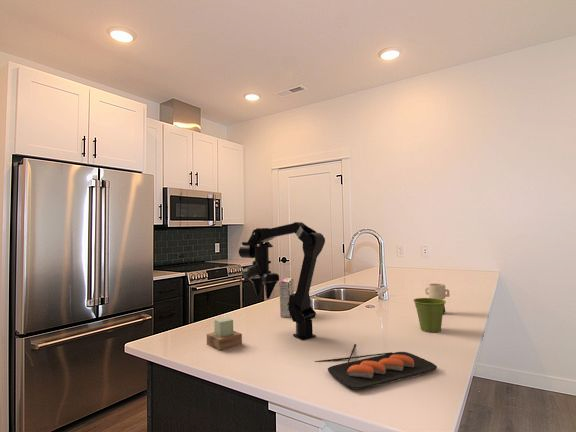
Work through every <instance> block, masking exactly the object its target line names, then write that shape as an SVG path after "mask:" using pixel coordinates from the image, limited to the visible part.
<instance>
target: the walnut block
mask: <svg viewBox="0 0 576 432" xmlns="http://www.w3.org/2000/svg"><path fill="white" fill-rule="evenodd" d="M206 345H207V346H208V347H211V348H213V349H215V350H217V351H224V350H227V349H231V348H234V347H238V346H241V345H243V334H242V333H241V332H239V331H235V330H233V334H232V335H227V336H222V337H219V336H218V335H216V334H215V331H214V332H209V333H206Z"/></svg>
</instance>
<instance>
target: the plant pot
mask: <svg viewBox="0 0 576 432" xmlns="http://www.w3.org/2000/svg"><path fill="white" fill-rule="evenodd" d="M412 301H413V302H414V304H415V305H414V306H415V308H416V312H417V318H418V321H419V326H420V327H419V328H420V330H421V331H424V332H427V333H428V332H431V333H432V332H433V333H438V332H441V330H442V326H443V316H444V312H443V309H444V306H445V304H446V303H447V301H446V300H445V299H442V300H441V299H435V298H429V297H417V298H413V300H412Z"/></svg>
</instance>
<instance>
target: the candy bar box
mask: <svg viewBox="0 0 576 432" xmlns="http://www.w3.org/2000/svg"><path fill="white" fill-rule="evenodd" d="M278 287H279V288H278V289H279V308H280V312H279V313H280V318H292V317H291V314H290V312H289V310H288V306H289V305H287V304H288V302H289V296H290V295H291V294H295V290H294V289H295V288H294V287H295V285H294V278H292V277H289V278H288V277H287V278H283V279H281V280H279V281H278Z"/></svg>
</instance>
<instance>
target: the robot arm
mask: <svg viewBox="0 0 576 432" xmlns="http://www.w3.org/2000/svg"><path fill="white" fill-rule="evenodd" d="M292 234H295V235H296V236H297V238H298V240H300V241H301V242H302V251H303V260H302V263H301V269H300V273H299V278H298V281H297V287H296V291H295V292H294V294H291V295H290V296H289V302H288V304H287V305H289V306H288V310H289V312H290V314H291V317H290V318H291V319H292V322H294V323H295V333H293V334H292V336H293V337H295V338H297V339H299V340H301V341H303V340H308V339H312V338H316V337H317V335H316V334H314V333H313V319H315V318H316V315H317V313H316V311H315V310H314V308H313V307H312V306H311V297H310V289H311V285H312V281H313V276H314V272H315V267H316V263H317V258H318V257H319V255H320V254H321V252H322V251H323V249H324V245H325V243H326V238H325V237H324V235H323V234H322V233H321V232H317V231H316V230H315V229H313V228H311V227H309V225H307V224H305V223H304V222H302V221H297V222H296V221H294V222H291V223H288V224H283V225H279V226H274V227H258V228H257V227H256V228H253V229H252V233H251V235H250V237H249V239H248V240H247V241H243V242H241V245H240V246H239V249H238V255H239V257H240V258H242V259H254V260H253V261H252V264H251V265H250V266H247V267H245V268H243V269H241V273H242V276H243V278H244V279H248V280H249V281H250V282H251V283H252V285H253V289H254V292H255V295H256V296H260V292H261V289H262V284H263V286H264V289H265V297H266V298H265V299H270V298H271V295H272V293H273V291H274V289H275V286H276V285H277V283H279V282H280V275H279V274H278V273H276V272H272V271H271V270H270V264H271V263H272V261H271V260H270V259H269V258H270V257H269V254H270V253H269V248H273V247H274V245H273V244H272V243H270V241H271V240H273V239H274V238H277V237H282V236H286V235H287V236H288V235H292Z"/></svg>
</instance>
